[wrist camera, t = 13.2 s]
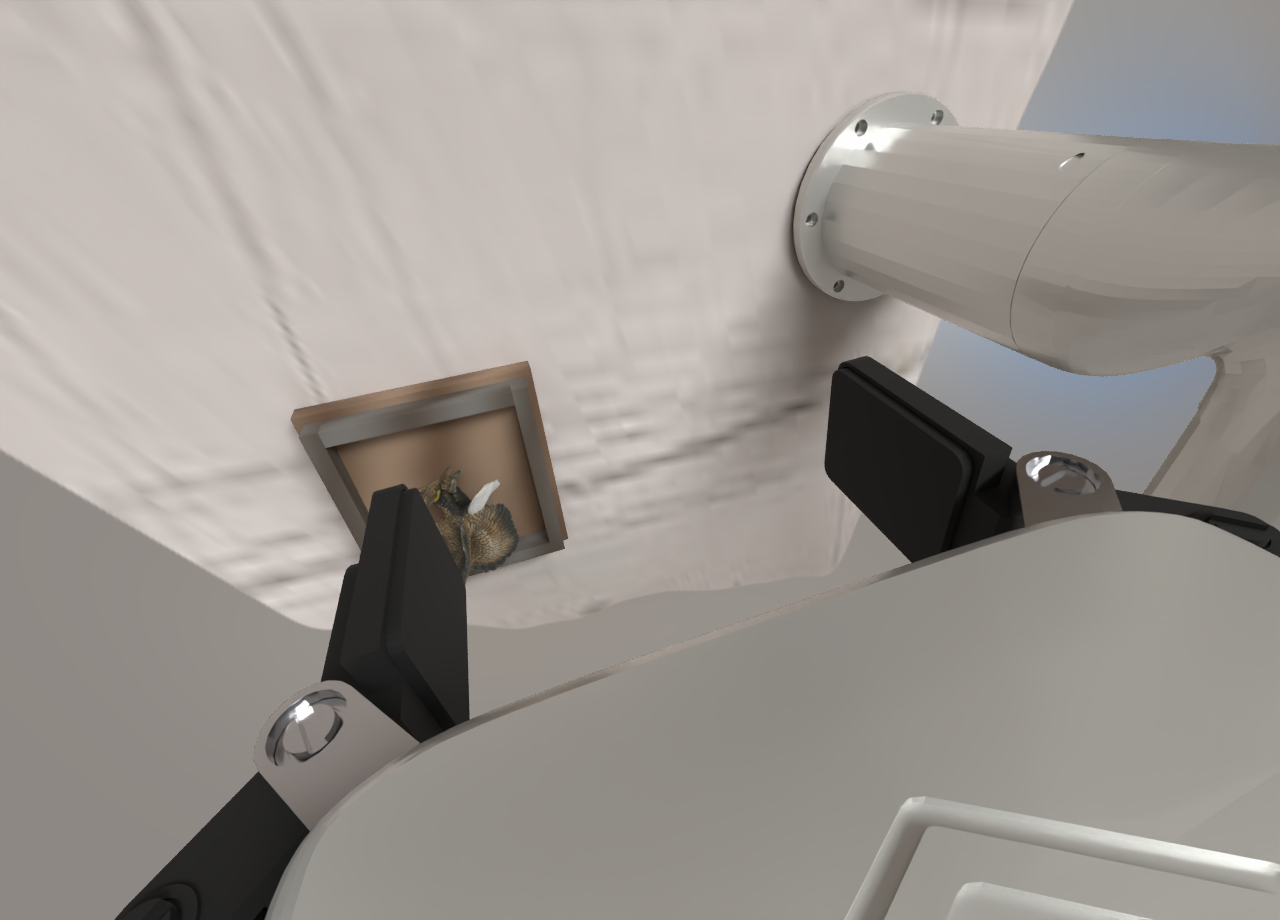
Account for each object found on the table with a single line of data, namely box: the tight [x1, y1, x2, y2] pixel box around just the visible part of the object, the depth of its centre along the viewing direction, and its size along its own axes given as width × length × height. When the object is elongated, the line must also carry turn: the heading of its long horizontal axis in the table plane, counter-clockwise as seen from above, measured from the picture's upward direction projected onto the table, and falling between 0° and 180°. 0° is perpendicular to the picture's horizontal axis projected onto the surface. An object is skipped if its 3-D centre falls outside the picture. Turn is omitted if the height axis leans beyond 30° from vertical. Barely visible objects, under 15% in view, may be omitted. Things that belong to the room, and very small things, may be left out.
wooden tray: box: [291, 361, 568, 576], centre depth 36 cm, size 14×15×3 cm
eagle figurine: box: [418, 467, 519, 584], centre depth 35 cm, size 8×7×9 cm
